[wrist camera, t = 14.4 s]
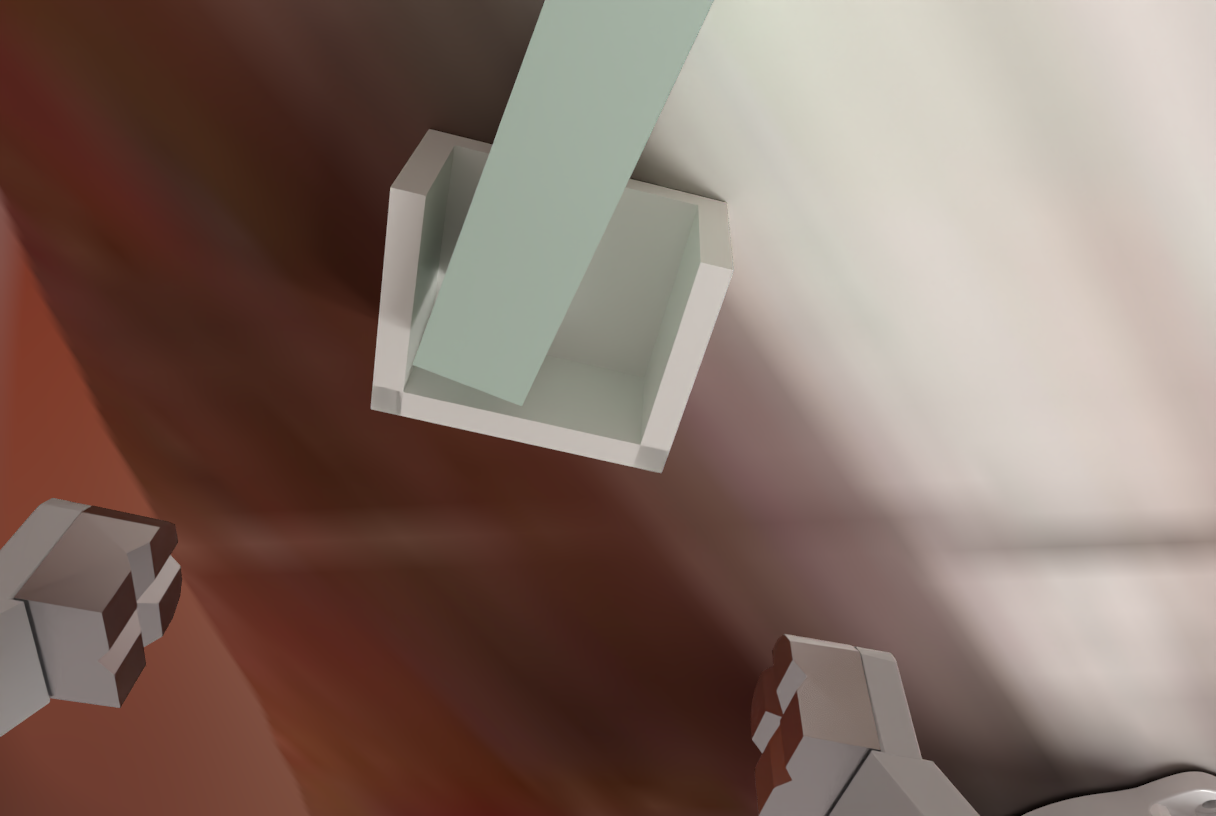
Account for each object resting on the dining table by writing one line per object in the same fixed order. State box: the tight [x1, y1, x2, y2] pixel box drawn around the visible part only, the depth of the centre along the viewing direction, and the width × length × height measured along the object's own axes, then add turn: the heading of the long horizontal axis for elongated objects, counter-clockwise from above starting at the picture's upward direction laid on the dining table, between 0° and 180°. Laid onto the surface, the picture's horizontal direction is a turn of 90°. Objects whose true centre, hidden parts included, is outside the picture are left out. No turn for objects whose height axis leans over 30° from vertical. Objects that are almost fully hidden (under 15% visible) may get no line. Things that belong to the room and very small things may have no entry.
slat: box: [413, 0, 714, 406], centre depth 23 cm, size 21×4×6 cm, turn 157°
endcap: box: [371, 129, 734, 473], centre depth 30 cm, size 8×10×5 cm
